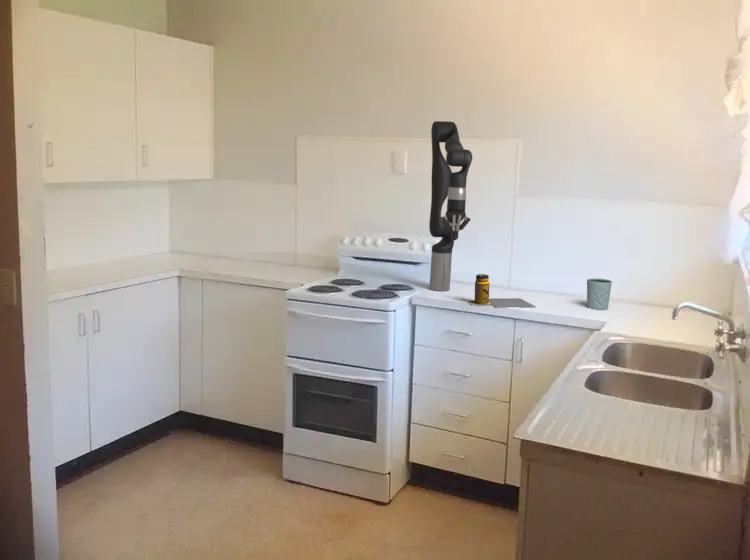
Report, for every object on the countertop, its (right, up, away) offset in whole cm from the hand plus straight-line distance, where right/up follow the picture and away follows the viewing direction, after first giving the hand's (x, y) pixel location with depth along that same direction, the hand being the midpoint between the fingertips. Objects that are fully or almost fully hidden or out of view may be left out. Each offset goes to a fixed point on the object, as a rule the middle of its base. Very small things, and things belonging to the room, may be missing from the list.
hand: (454, 239), depth 316 cm
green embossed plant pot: (+61, -29, +6) cm, 68 cm away
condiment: (+11, -27, +4) cm, 29 cm away
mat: (+24, -27, +7) cm, 36 cm away
